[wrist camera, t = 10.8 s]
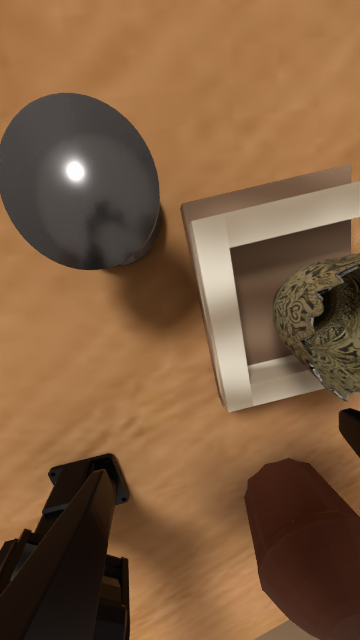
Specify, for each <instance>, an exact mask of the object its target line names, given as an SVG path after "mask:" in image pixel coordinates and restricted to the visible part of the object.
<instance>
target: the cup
mask: <svg viewBox="0 0 360 640" xmlns="http://www.w3.org/2000/svg"><path fill="white" fill-rule="evenodd" d="M273 322H274V326H275V329H276V331H277V334H278V335H279V337H280V339H281V340H282V342H283V343H284V344H285V346H286V347H287V348H288V349H289V350H290V352H291V353H292V354H293V355H294V356H295V357H296V358H297V359H298V360H299V361H300V362H301V363H302V364H303V365H304V366H305V367H306V368H307V369H308V370H309V371H310V372H311V373H312V374H313V375H314V376H315V377H316V378H317V379H318V380H319V381H320V383H321V384H322V385H323V386H324V387H325V388H326V389H328V390H331V391H332V392H333V393H334V394H335V395H336V396H338V397H339V398H341V399H342V400H344V401H348V400H349V398H350V397H349V395H348V394H347V393H346V392H348V393H350V394H354V393H356V392H360V254H353V255H347V256H341V257H335V258H330V259H325V260H322V261H318V262H315V263H312V264H310V265H307V266H305V267H303V268H301V269H300V270H298V271H297V272H295V273H294V274H293V275H292V276H290V277H289V278H288V279H287V280H286V281H285V283H284V284H283V285H282V286H281V287H280V288H279V289H278V290H277V292H276V293H275V296H274V299H273ZM353 392H354V393H353Z"/></svg>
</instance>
